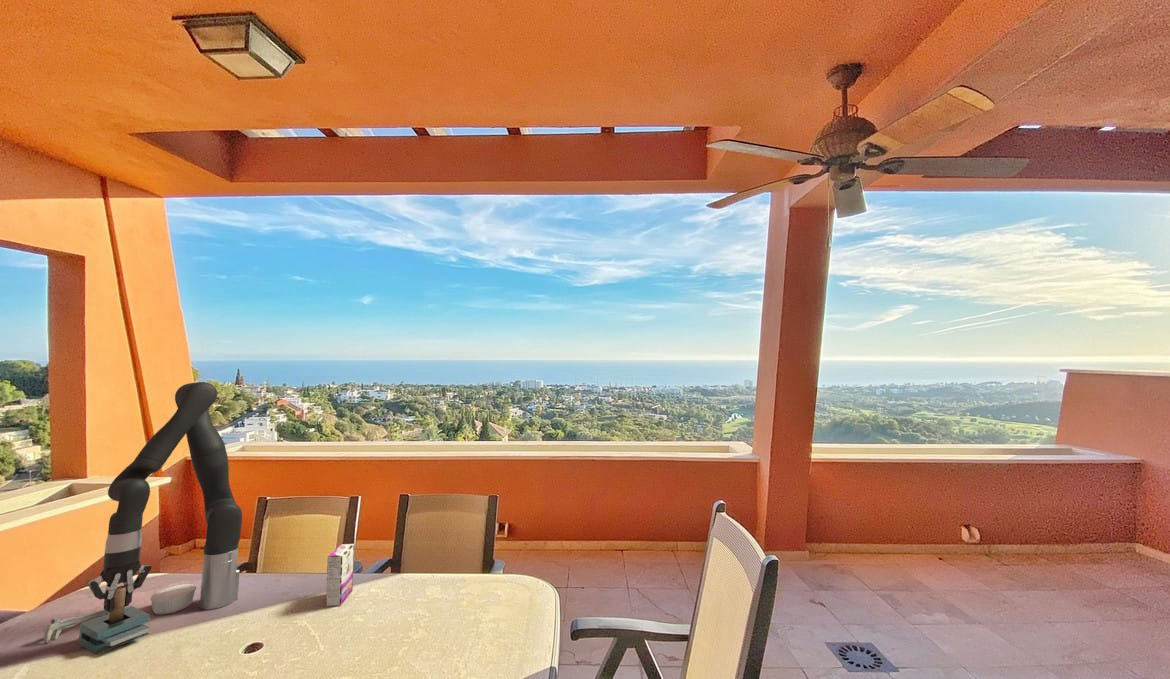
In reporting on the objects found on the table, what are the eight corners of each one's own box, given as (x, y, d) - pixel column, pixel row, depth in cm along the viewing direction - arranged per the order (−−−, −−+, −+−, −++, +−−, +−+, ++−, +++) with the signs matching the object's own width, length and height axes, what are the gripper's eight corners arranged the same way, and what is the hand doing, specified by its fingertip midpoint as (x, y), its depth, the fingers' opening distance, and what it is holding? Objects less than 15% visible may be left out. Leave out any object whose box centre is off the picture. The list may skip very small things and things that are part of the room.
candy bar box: (337, 591, 160) (340, 543, 161) (352, 590, 160) (355, 543, 162) (324, 607, 149) (327, 556, 150) (340, 606, 149) (342, 555, 151)
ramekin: (172, 599, 154) (173, 583, 155) (204, 599, 154) (205, 583, 154) (139, 616, 143) (140, 599, 143) (173, 617, 143) (174, 599, 143)
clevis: (130, 624, 138) (131, 606, 138) (154, 637, 131) (156, 617, 132) (78, 643, 128) (80, 623, 129) (102, 658, 121) (104, 636, 122)
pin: (120, 620, 133) (123, 584, 134) (125, 622, 131) (128, 586, 132) (106, 625, 130) (110, 588, 131) (111, 627, 129) (114, 591, 130)
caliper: (47, 644, 128) (49, 621, 129) (43, 644, 128) (45, 621, 129) (122, 608, 148) (124, 588, 149) (119, 608, 148) (120, 588, 149)
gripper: (148, 537, 141) (143, 595, 139) (84, 552, 128) (77, 616, 126) (160, 541, 137) (154, 600, 136) (95, 557, 125) (88, 623, 123)
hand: (117, 608), depth 131 cm, fingers closed on pin, 3 cm apart
